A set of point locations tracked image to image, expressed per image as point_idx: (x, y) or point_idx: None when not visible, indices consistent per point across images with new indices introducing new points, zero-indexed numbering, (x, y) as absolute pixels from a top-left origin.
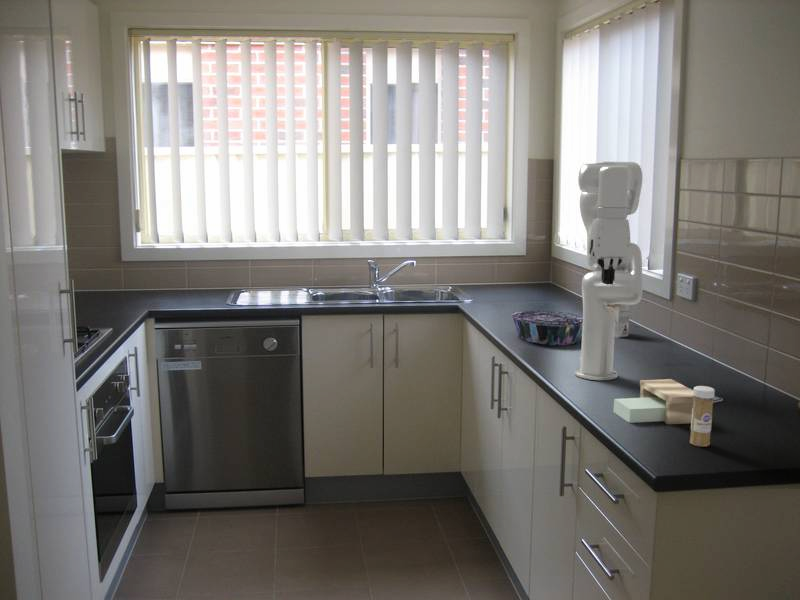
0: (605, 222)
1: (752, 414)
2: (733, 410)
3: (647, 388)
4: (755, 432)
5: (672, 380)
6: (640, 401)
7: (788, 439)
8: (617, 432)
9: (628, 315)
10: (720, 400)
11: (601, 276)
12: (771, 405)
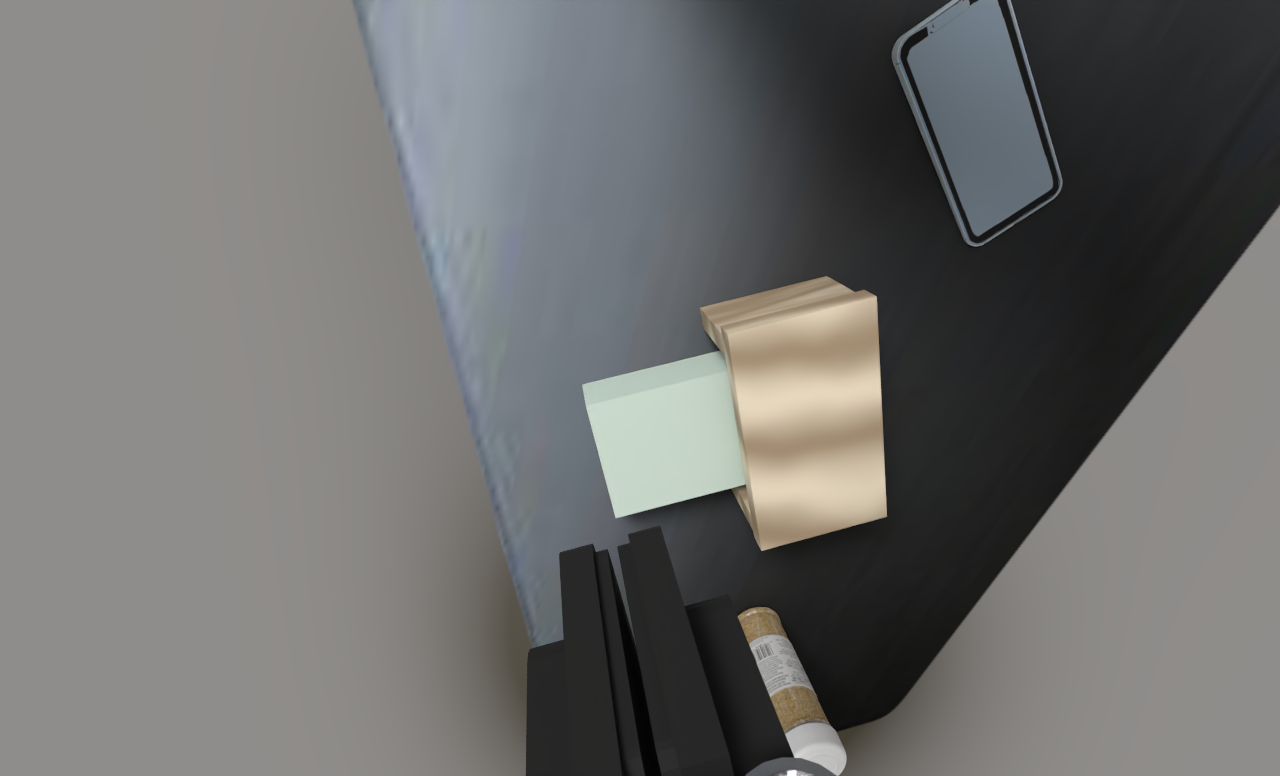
0: None
1: (1049, 357)
2: (1016, 319)
3: (732, 391)
4: (950, 520)
5: (871, 318)
6: (680, 426)
7: (999, 558)
8: (551, 576)
9: None
10: (1042, 205)
11: (528, 693)
12: (1182, 245)
